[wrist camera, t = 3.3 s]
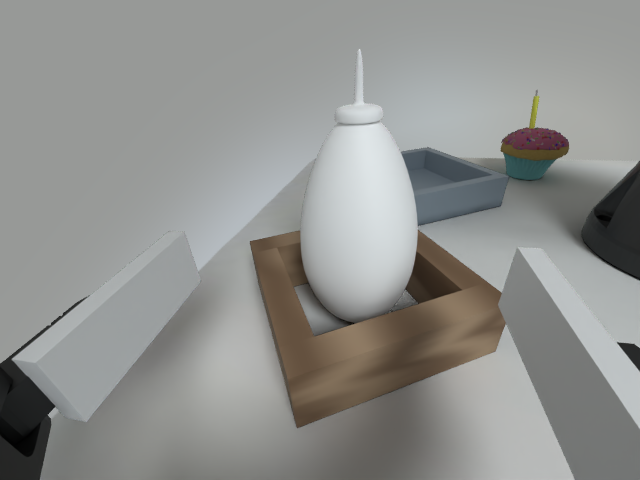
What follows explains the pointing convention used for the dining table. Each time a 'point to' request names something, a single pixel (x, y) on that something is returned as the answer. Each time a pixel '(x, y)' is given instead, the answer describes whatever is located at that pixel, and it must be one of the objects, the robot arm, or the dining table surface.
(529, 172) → the cupcake
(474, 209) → the tray
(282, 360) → the socket block
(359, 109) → the sauce bottle
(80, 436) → the dining table surface
